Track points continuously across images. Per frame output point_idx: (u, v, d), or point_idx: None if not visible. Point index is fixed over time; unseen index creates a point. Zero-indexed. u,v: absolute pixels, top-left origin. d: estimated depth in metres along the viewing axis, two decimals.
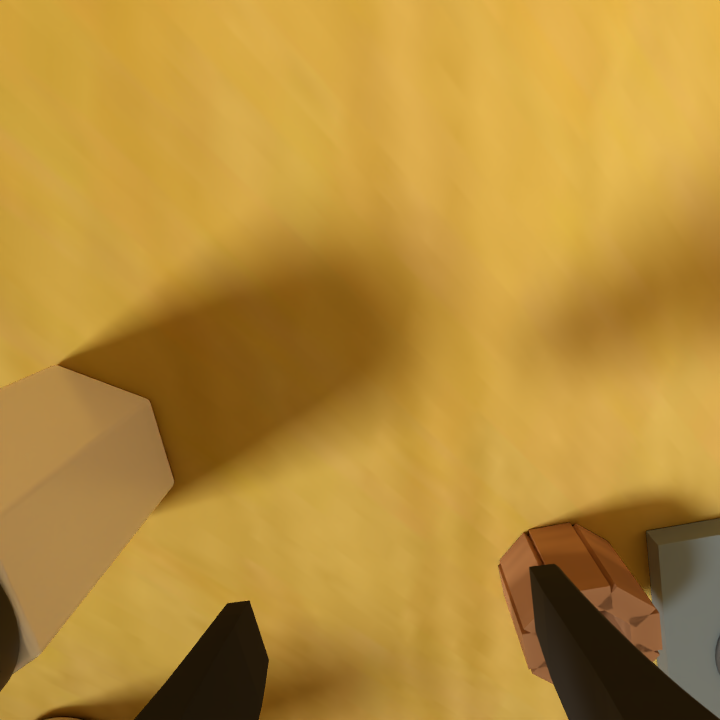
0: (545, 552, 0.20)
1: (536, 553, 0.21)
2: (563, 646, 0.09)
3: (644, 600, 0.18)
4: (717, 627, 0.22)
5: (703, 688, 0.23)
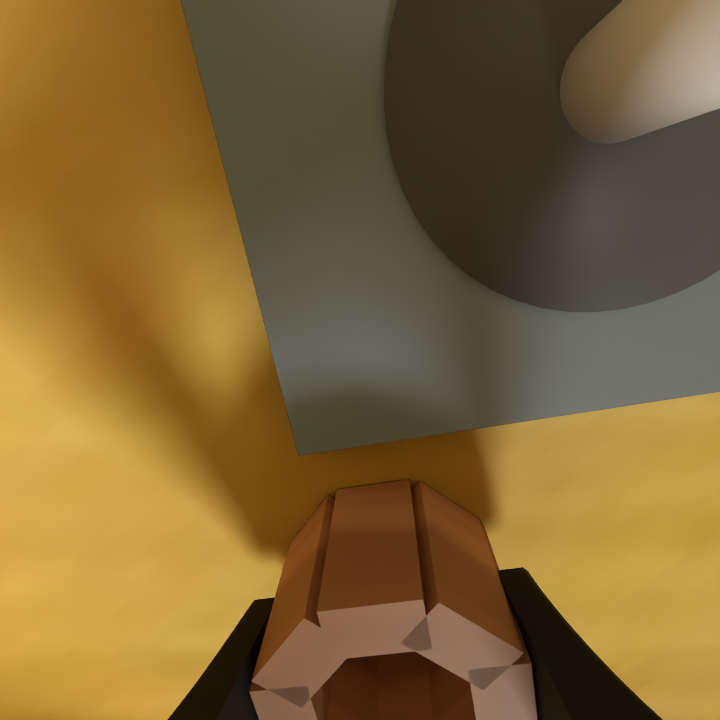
0: None
1: None
2: None
3: (289, 631, 0.09)
4: (521, 317, 0.10)
5: (719, 319, 0.09)
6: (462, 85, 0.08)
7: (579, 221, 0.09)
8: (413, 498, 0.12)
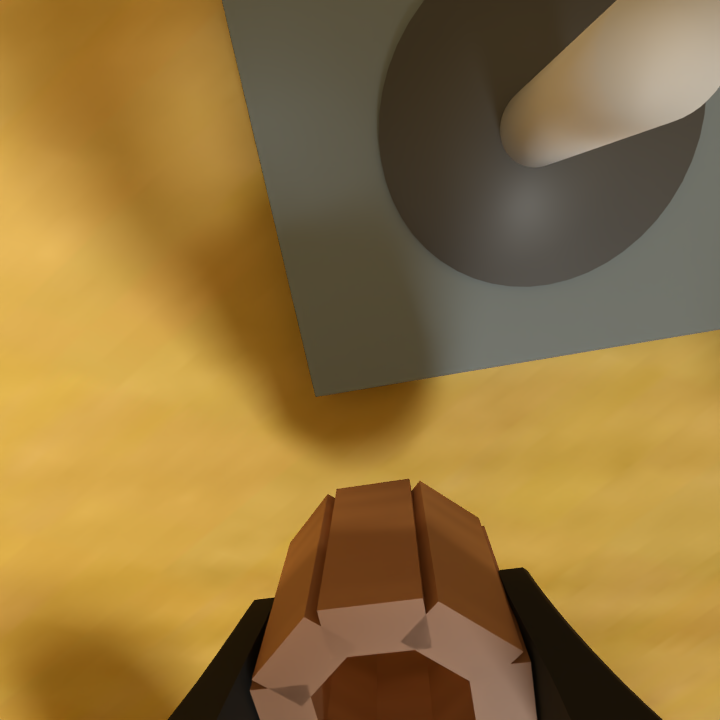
0: None
1: None
2: None
3: (290, 630, 0.09)
4: (478, 290, 0.13)
5: (620, 291, 0.13)
6: (432, 127, 0.12)
7: (516, 221, 0.12)
8: (413, 497, 0.12)
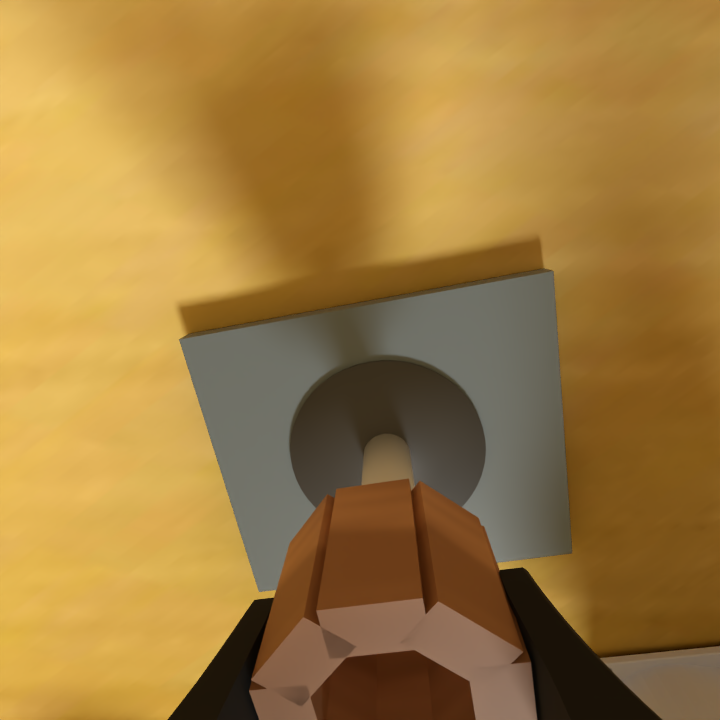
0: None
1: None
2: None
3: (289, 630, 0.09)
4: None
5: None
6: (323, 453, 0.19)
7: None
8: (413, 497, 0.12)
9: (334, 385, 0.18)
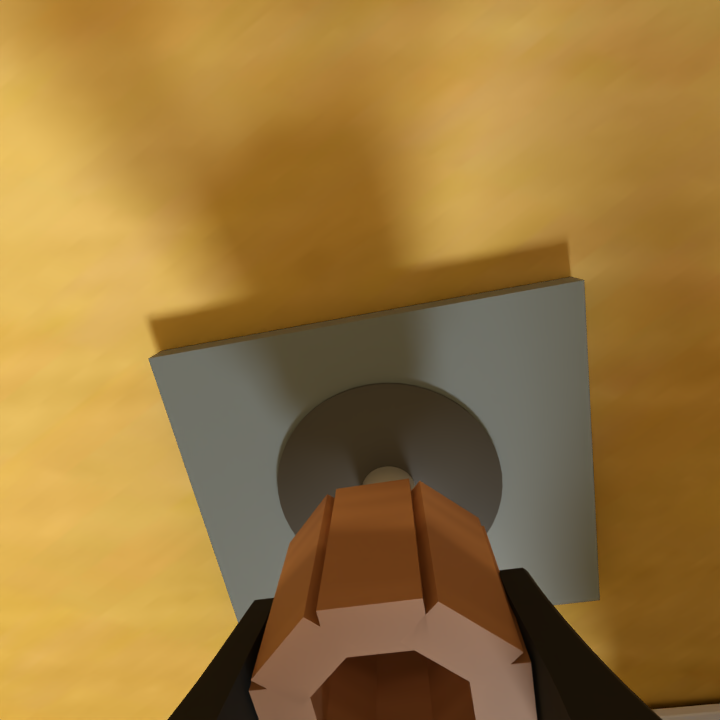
0: None
1: None
2: None
3: (289, 630, 0.09)
4: None
5: None
6: (315, 488, 0.17)
7: None
8: (413, 497, 0.12)
9: (328, 411, 0.16)
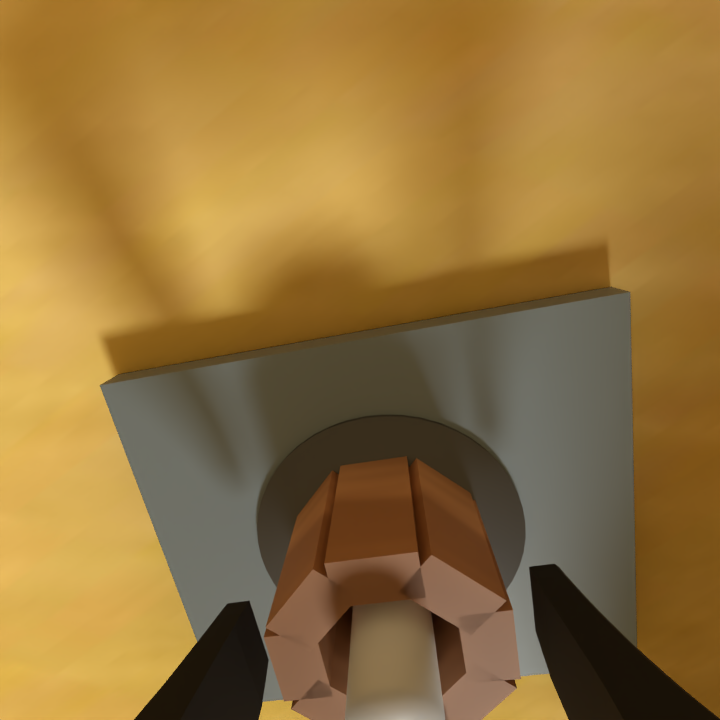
0: None
1: None
2: (563, 646, 0.09)
3: (300, 582, 0.10)
4: None
5: None
6: None
7: None
8: (410, 473, 0.13)
9: (316, 449, 0.13)
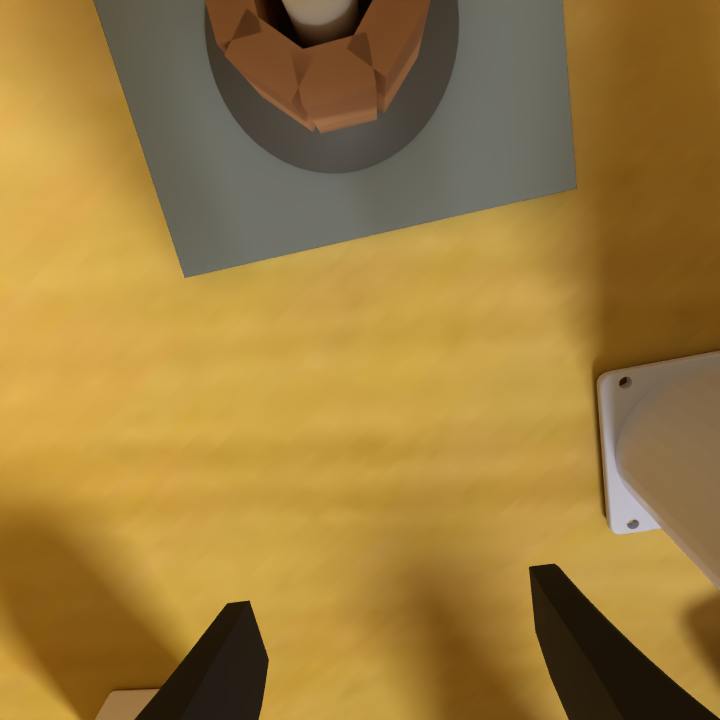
0: None
1: None
2: (563, 646, 0.09)
3: None
4: (304, 179, 0.16)
5: (418, 175, 0.16)
6: None
7: None
8: None
9: None
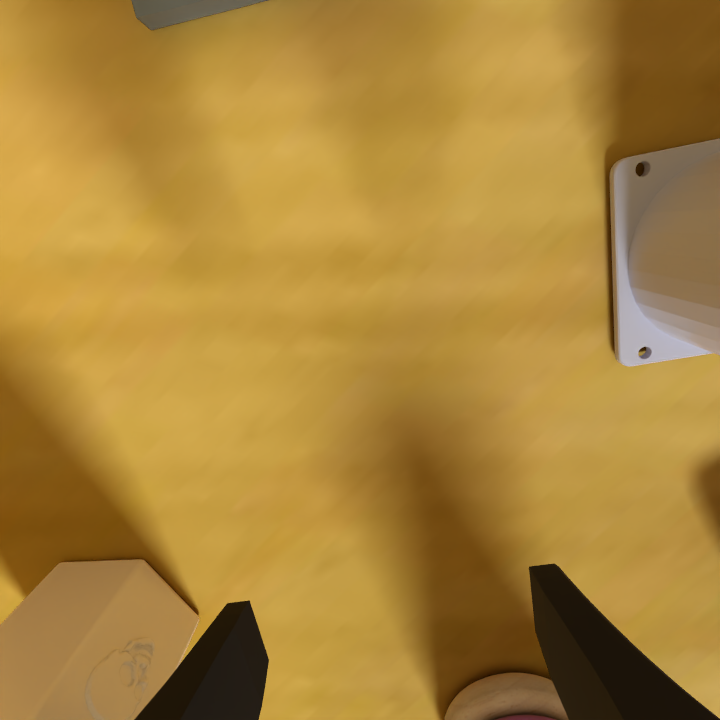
0: None
1: None
2: (563, 646, 0.09)
3: None
4: None
5: None
6: None
7: None
8: None
9: None
